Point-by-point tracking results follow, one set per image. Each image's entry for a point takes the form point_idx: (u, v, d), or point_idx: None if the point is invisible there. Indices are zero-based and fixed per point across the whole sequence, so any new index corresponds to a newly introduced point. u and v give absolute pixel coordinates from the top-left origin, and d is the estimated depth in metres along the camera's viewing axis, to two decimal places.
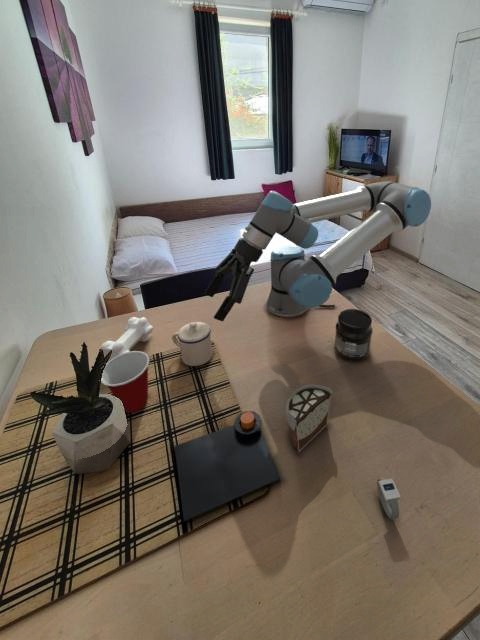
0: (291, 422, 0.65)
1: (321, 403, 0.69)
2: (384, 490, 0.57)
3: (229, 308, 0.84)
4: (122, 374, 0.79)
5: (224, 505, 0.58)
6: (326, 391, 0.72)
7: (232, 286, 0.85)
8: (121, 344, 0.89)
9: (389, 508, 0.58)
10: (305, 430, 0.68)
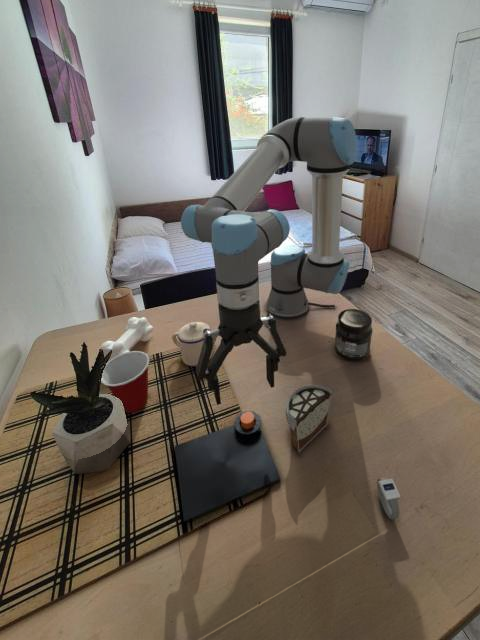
0: (291, 422, 0.65)
1: (321, 404, 0.69)
2: (384, 490, 0.57)
3: None
4: (122, 374, 0.79)
5: (224, 505, 0.58)
6: (326, 391, 0.72)
7: (268, 350, 0.65)
8: (121, 344, 0.89)
9: (389, 508, 0.58)
10: (305, 430, 0.68)
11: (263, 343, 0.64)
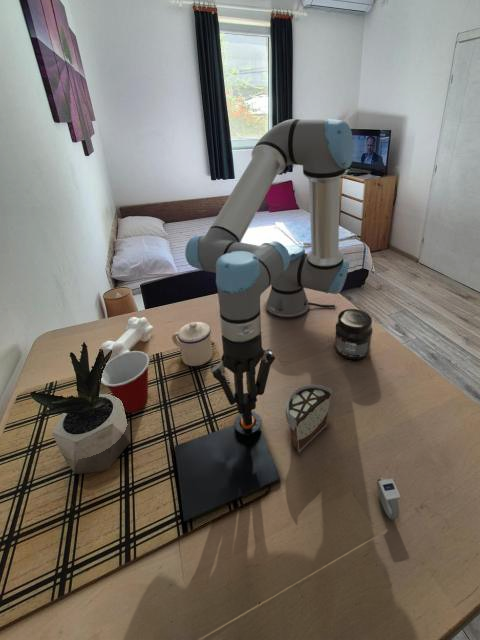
0: (291, 422, 0.65)
1: (321, 403, 0.69)
2: (384, 490, 0.57)
3: None
4: (122, 374, 0.79)
5: (224, 505, 0.58)
6: (326, 391, 0.72)
7: (253, 386, 0.67)
8: (121, 344, 0.89)
9: (389, 508, 0.58)
10: (305, 430, 0.68)
11: (253, 377, 0.66)
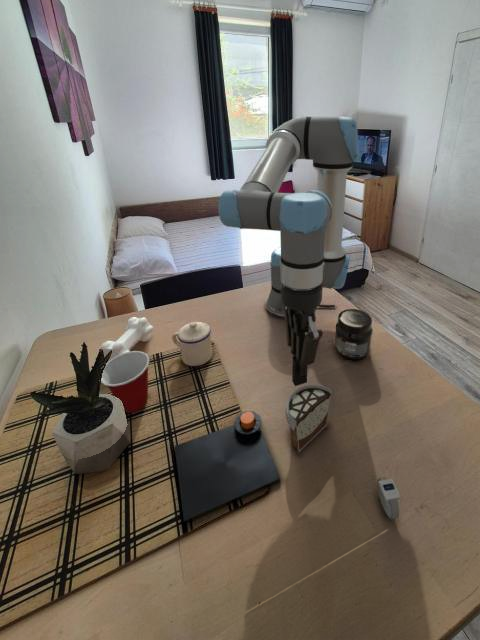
0: (291, 422, 0.65)
1: (321, 404, 0.69)
2: (384, 490, 0.57)
3: None
4: (122, 374, 0.79)
5: (224, 505, 0.58)
6: (326, 391, 0.72)
7: None
8: (121, 344, 0.89)
9: (389, 508, 0.58)
10: (305, 430, 0.68)
11: None
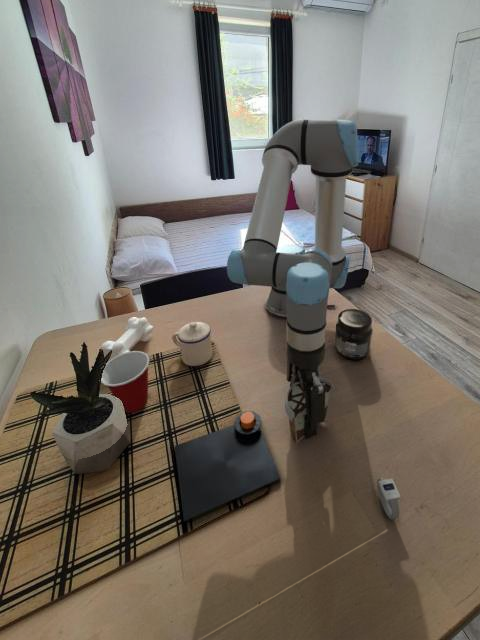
0: (289, 413, 0.65)
1: None
2: (384, 490, 0.57)
3: None
4: (122, 374, 0.79)
5: (224, 505, 0.58)
6: (326, 384, 0.71)
7: None
8: (121, 344, 0.89)
9: (389, 508, 0.58)
10: (303, 421, 0.68)
11: None
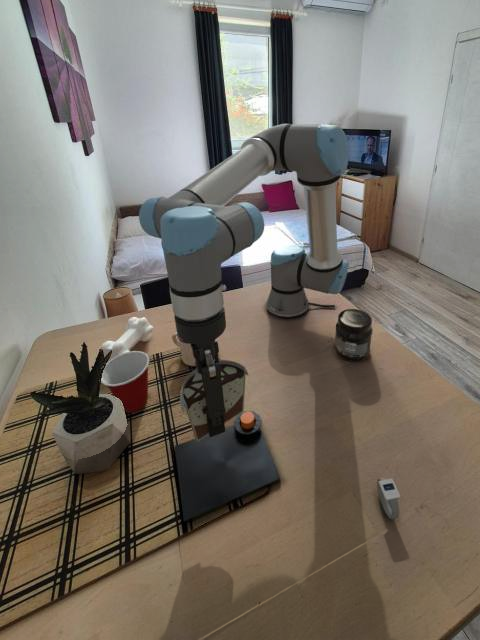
0: (181, 403, 0.51)
1: (229, 383, 0.56)
2: (384, 490, 0.57)
3: None
4: (122, 374, 0.79)
5: (224, 505, 0.58)
6: (240, 369, 0.58)
7: None
8: (121, 344, 0.89)
9: (389, 508, 0.58)
10: (205, 414, 0.54)
11: None
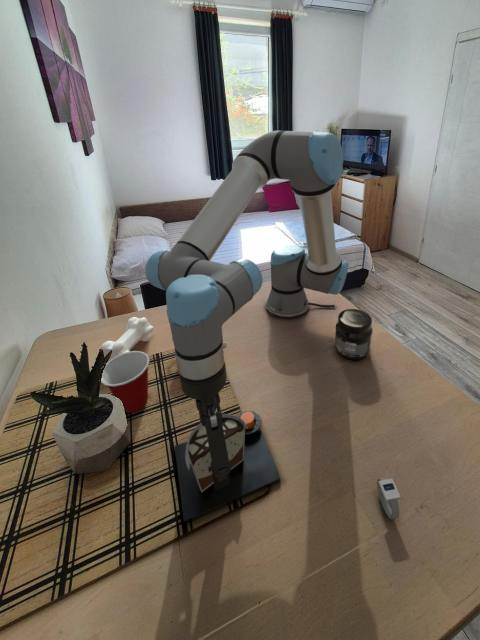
0: (186, 459, 0.56)
1: (230, 437, 0.61)
2: (384, 490, 0.57)
3: None
4: (122, 374, 0.79)
5: (224, 505, 0.58)
6: (240, 422, 0.63)
7: None
8: (121, 344, 0.89)
9: (389, 508, 0.58)
10: None
11: None
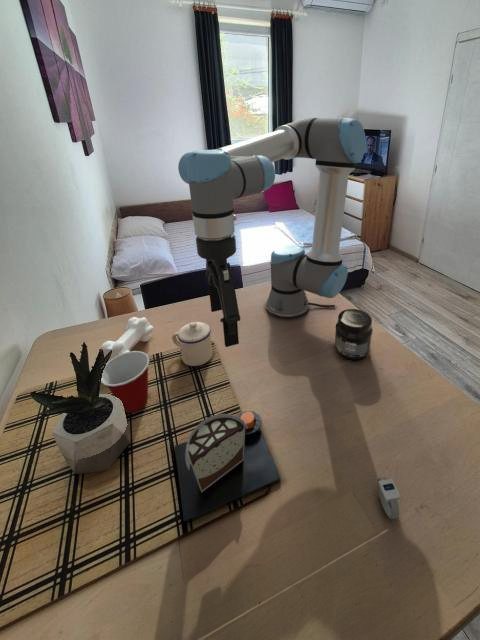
0: (186, 459, 0.56)
1: (230, 437, 0.61)
2: (384, 490, 0.57)
3: None
4: (122, 374, 0.79)
5: (224, 505, 0.58)
6: (240, 422, 0.63)
7: None
8: (121, 344, 0.89)
9: (389, 508, 0.58)
10: (208, 467, 0.59)
11: None
